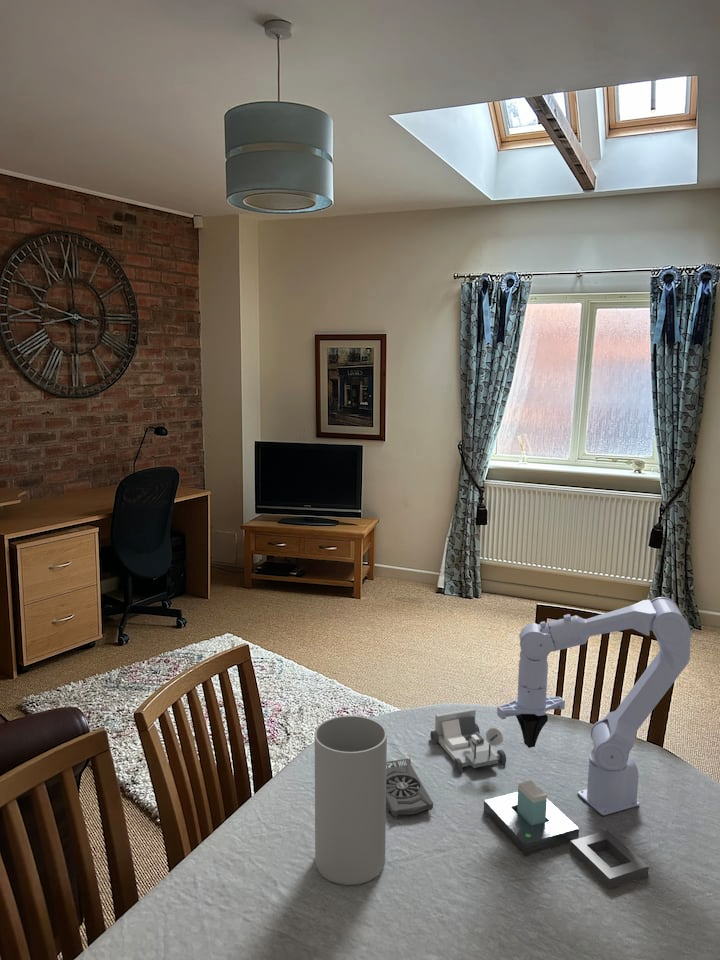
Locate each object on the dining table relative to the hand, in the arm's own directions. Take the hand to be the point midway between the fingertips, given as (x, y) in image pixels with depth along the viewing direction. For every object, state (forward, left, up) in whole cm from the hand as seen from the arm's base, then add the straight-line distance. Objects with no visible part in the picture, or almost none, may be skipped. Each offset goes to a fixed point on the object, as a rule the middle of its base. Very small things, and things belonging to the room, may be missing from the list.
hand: (529, 744), depth 149 cm
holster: (-1, +24, -10) cm, 26 cm away
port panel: (+6, +10, -10) cm, 15 cm away
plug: (+6, +10, -10) cm, 16 cm away
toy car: (+4, -17, -11) cm, 20 cm away
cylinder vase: (+42, +7, -11) cm, 44 cm away
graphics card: (+26, -9, -11) cm, 30 cm away
